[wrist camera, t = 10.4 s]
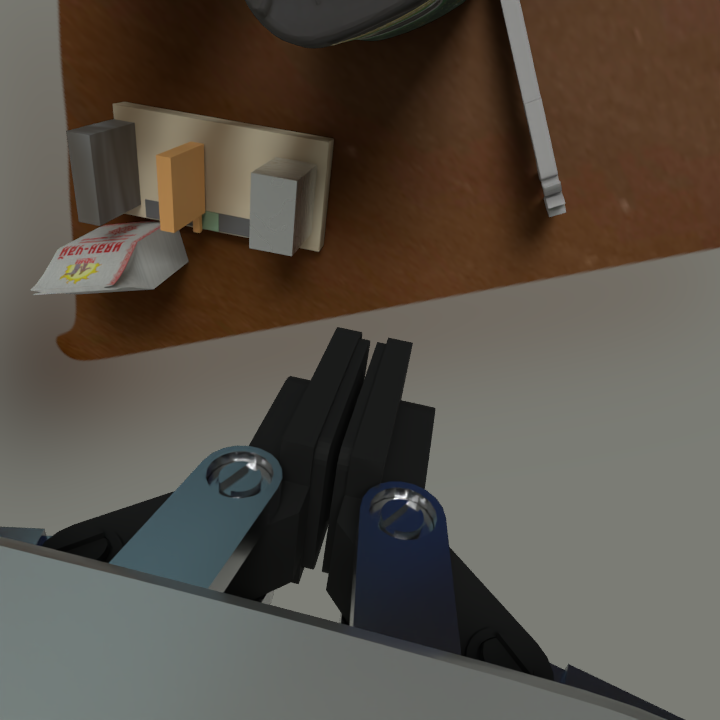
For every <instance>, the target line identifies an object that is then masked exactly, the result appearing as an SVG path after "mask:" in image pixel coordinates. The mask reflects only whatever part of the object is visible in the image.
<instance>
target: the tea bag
mask: <svg viewBox="0 0 720 720" xmlns="http://www.w3.org/2000/svg"><path fill="white" fill-rule="evenodd" d="M187 262H189V261H188V258H187V254H186V251H185V248H184V245H183V241H182V238H181V235H180V231H179V230H178V231H177V232H175V233H171V232H166V231H161V230H160V220H152V221H142V222H132V223H121V224H111V225H103V226H101V227H99V228H97V229H95V230H93V231H91V232H90V233H88V234H86V235H84V236H82V237H80V238H78V239H76V240H74V241H72V242H70V243H69V244H67V245H65V246H63V247H61V248H59V249H58V250H57V252H56V254H55V255H54V257H53V259H52V260H51V263H50V264H49V266H48V267H47V269H46V271H45V273H44V274H43V276H42V277H41V278H40V280H39V281H38V283H37V284H36V285H35V286H34V287H33V288H32V289H31V291H39V292H38V293H36V294H34V295H40V294H55V293H66V294H88V293H104V292H119V291H135V290H150V289H155V288H156V287H157V286H158V285H160V284H161V283H162V282H163V281H165V280H166V279H167V278H168V277H170V276H171V275H172V274H173V273H175V272H176V271H177V270H179V269H180V268H181V267H182V266H184V265H185V264H186V263H187Z"/></svg>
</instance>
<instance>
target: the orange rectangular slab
mask: <svg viewBox="0 0 720 720" xmlns="http://www.w3.org/2000/svg"><path fill="white" fill-rule="evenodd" d="M156 166H157V182H158V198H159V214H160V230H161V231H166V232H171V233H175V232H177V231H178V230H180V229H181V228H183V227H184V226H186V225H187V224H189V223H190V222H192V221H193V232H196V233H200V232H202V214H204V213H205V176H204V144H202V143H196V142H191V141H190V142H188V143H185V144H183V145H180V146H178V147H175V148H173V149H170V150H168V151H165V152H162V153H160V154H157V155H156Z"/></svg>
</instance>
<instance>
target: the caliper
mask: <svg viewBox="0 0 720 720" xmlns="http://www.w3.org/2000/svg"><path fill="white" fill-rule="evenodd" d="M500 2H501V7H502V11H503V16H504V20H505V24H506V29H507V33H508V38H509V42H510V47H511V51H512V55H513V60H514V64H515V69H516V73H517V78H518V82H519V86H520V91H521V95H522V100H523V104H524V110H525V114H526V119H527V123H528V127H529V132H530V136H531V141H532V145H533V149H534V153H535V158H536V163H537V170H538V175H539V180H540V181H541V184H542V188H543V192H544V202H545V206H546V209H547V212H548V215H549V217H552V216H555V215H558V214H562V213H565V212H566V210H565V205H564V204H565V201H564V197H563V195H562V193H561V191H562V189H561V182H559V179H558V173H557V168H556V163H555V159H554V154H553V150H552V145H551V140H550V136H549V131H548V127H547V122H546V118H545V113H544V108H543V104H542V99H541V97H540V92H539V87H538V83H537V78H536V74H535V69H534V64H533V60H532V55H531V51H530V46H529V41H528V37H527V32H526V28H525V23H524V18H523V14H522V9H521V5H520V0H500Z"/></svg>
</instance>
